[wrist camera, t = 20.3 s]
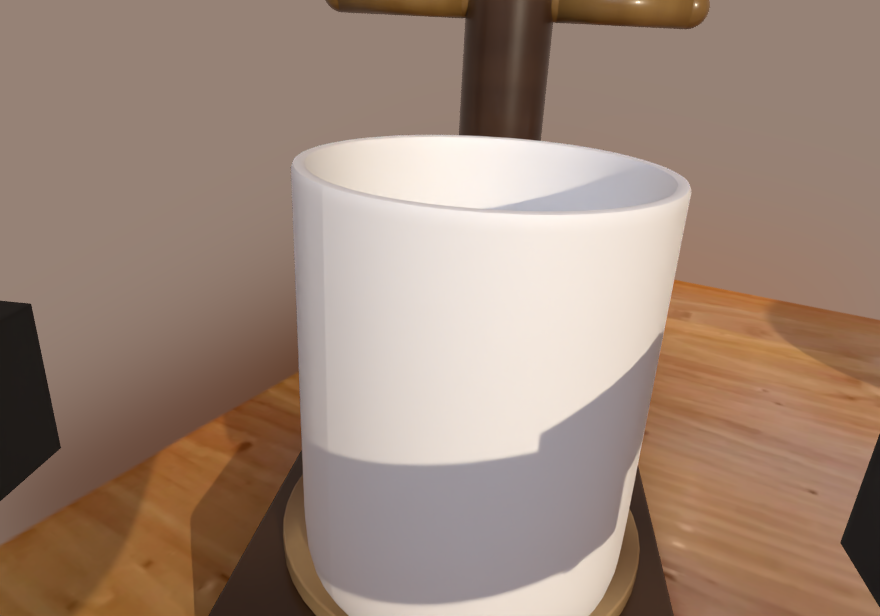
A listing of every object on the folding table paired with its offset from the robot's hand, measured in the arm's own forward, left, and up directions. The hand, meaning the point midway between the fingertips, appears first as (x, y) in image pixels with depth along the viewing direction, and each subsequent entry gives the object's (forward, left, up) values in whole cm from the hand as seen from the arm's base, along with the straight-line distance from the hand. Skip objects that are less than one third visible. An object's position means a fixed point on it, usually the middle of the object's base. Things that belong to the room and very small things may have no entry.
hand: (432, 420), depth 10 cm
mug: (+6, +5, -8) cm, 11 cm away
